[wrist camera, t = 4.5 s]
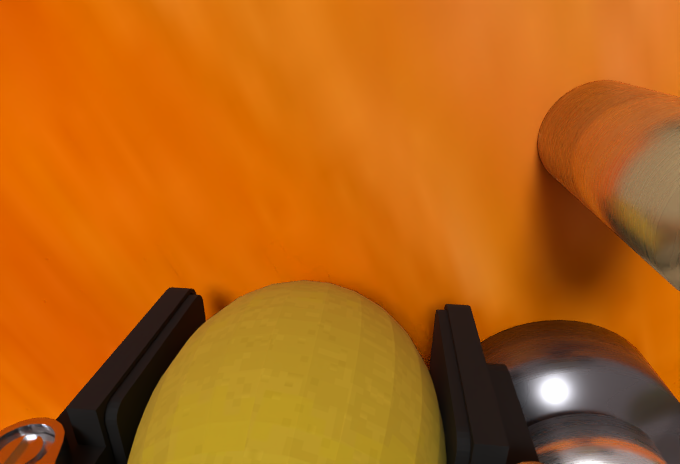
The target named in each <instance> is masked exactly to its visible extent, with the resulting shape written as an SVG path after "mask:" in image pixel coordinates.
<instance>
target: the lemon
mask: <svg viewBox="0 0 680 464" xmlns="http://www.w3.org/2000/svg"><path fill="white" fill-rule="evenodd" d="M127 464H447V457H446V445H445V435H444V428H443V422H442V417H441V413H440V409H439V404H438V400H437V396H436V392H435V388H434V384H433V381H432V378H431V376H430V373H429V370H428V368H427V366H426V364H425V363H424V361H423V359H422V357H421V355H420V354H419V352H418V350H417V349H416V347H415V345H414V343H413V342H412V340H411V338H410V337H409V335H408V333H407V332H406V331H405V330H404V329H403V327H402V326H401V325H400V324H399V323H398V322H397V321H396V320H395V319H394V318H393V317H392V316H391V315H390V314H389V313H388V312H387V311H386V310H384V309H383V308H382V307H381V306H379V305H378V304H376V303H374V302H373V301H371V300H369V299H368V298H366V297H364V296H362V295H361V294H359V293H357V292H356V291H353V290H350V289H347V288H344V287H341V286H338V285H335V284H332V283H325V282H316V281H307V280H302V281H294V282H286V283H277V284H271V285H269V286H266V287H263V288H261V289H258V290H255V291H253V292H250V293H248V294H245V295H243V296H241V297H239V298H237V299H236V300H234V301H233V302H232V303H230V304H229V305H228V306H226V307H225V308H223V309H222V310H221V311H219V312H218V313H216V314H215V315H214V316H212V317H211V318H210V319H208V320H207V321H206V322H205V323H204V324H203V325H201V326H200V327H199V328H198V329H197V330H196V331H195V333H194V334H193V335H192V336H191V337H190V338H189V339H188V341H187V342H186V343H185V345H184V346H183V348H182V349H181V350H180V352H179V353H178V354H177V356H176V357H175V359H174V360H173V361H172V363H171V364H170V366H169V367H168V368H167V370H166V371H165V373H164V374H163V376H162V377H161V379H160V381H159V382H158V384H157V386H156V388H155V389H154V391H153V393H152V395H151V397H150V399H149V402H148V404H147V406H146V408H145V410H144V413H143V416H142V418H141V421H140V424H139V426H138V429H137V432H136V435H135V439H134V442H133V445H132V448H131V452H130V455H129V459H128V463H127Z"/></svg>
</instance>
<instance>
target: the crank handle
mask: <svg viewBox="0 0 680 464" xmlns="http://www.w3.org/2000/svg"><path fill="white" fill-rule="evenodd" d="M528 429H529V432H530V435H531V438H532V441H533V444H534V447H535V450H536V453H537V456H538V459H539V462H540V463H544V464H667V463H666V461H665V460H664V458H663V456H662V455H661V453H660V452H659V450H658V449H657V447H656V446H655V444H654V442H653V441H652V440H651V439H650V438H649V436H648V435H647V434H646V433H644V432H643V431H642V430H641V429H639V428H637V427H636V426H634V425H632V424H630V423H628V422H626V421H623V420H621V419H617V418H614V417H610V416H605V415H598V414H570V415H563V416H558V417H553V418H549V419H546V420H543V421H540V422H538V423H535V424H533V425H531V426H529V427H528Z"/></svg>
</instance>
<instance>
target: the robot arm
mask: <svg viewBox="0 0 680 464" xmlns="http://www.w3.org/2000/svg"><path fill="white" fill-rule="evenodd" d="M205 322H206V320H205V312H204V305H203V299H202V297H201V295H196V292H195V290H194V289H189V288H169V289H167V290H166V292H165V293H164V294H163V295H162V296H161V297H160V299H159V300H158V301H157V302H156V303H155V304H154V306H153V307H152V308H151V309H150V310H149V311H148V313H147V314H146V315H145V316H144V317H143V318H142V320H141V321H140V322H139V323H138V324H137V325H136V327H135V328H134V329H133V330H132V331H131V332H130V334H129V335H128V336H127V337H126V338H125V339H124V341H123V342H122V343H121V344H120V345H119V347H118V348H117V349H116V350H115V351H114V352H113V354H112V355H111V356H110V357H109V358H108V359H107V361H106V362H105V363H104V364H103V365H102V366H101V368H100V369H99V370H98V371H97V372H96V373H95V375H94V376H93V377H92V378H91V379H90V380H89V382H88V383H87V384H86V385H85V386H84V387H83V389H82V390H81V391H80V392H79V393H78V394H77V396H76V397H75V398H74V399H73V400H72V401H71V403H70V404H69V405H68V406H67V407H66V409H65V410H64V411H63V412H62V413H61V414H60V416H59V417H58V418H57V419H56V420H55V419H50V418H46V417H45V418H32V419H28V420H24V421H20V422H18V423H16V424H13V425H11V426H9V427H6V428H5V429H3V430H1V431H0V464H127V463H128V459H129V455H130V452H131V448H132V445H133V442H134V439H135V435H136V432H137V429H138V426H139V424H140V421H141V418H142V416H143V413H144V410H145V408H146V406H147V404H148V402H149V399H150V397H151V395H152V393H153V391H154V389H155V388H156V386H157V384H158V382H159V381H160V379H161V377H162V376H163V374H164V373H165V371H166V370H167V368H168V367H169V366H170V364H171V363H172V361H173V360H174V359H175V357H176V356H177V354H178V353H179V352H180V350H181V349H182V348H183V346H184V345H185V343H186V342H187V341H188V339H189V338H190V337H191V336H192V335H193V334H194V333H195V331H196V330H197V329H198V328H199V327H200V326H201V325H203V324H204V323H205ZM429 373H430V376H431V378H432V381H433V384H434V388H435V392H436V396H437V400H438V404H439V409H440V413H441V417H442V422H443V428H444V435H445V445H446V457H447V464H544V463H540V462H539V459H538V456H537V453H536V450H535V447H534V444H533V441H532V438H531V435H530V432H529V429H528V426H527V423H526V420H525V417H524V414H523V411H522V408H521V405H520V402H519V399H518V396H517V394H516V391H515V388H514V385H513V382H512V379H511V376H510V373H509V370H508V368H507V366H506V365H505V364H494V363H486V361H485V357H484V354H483V350H482V346H481V343H480V339H479V336H478V332H477V328H476V325H475V321H474V318H473V314H472V311H471V307H470V306H469V305H454V304H446V305H445V308H444V310H436V314H435V323H434V332H433V342H432V351H431V360H430V370H429Z"/></svg>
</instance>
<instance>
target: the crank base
mask: <svg viewBox="0 0 680 464" xmlns="http://www.w3.org/2000/svg"><path fill="white" fill-rule="evenodd" d="M538 152H539V156H540V159H541V162H542V164H543V166H544V167H545V169H546V170H547V171H548V172H549V173H550V174H551V175H552V176H553V177H554V178H555V179H556V180H557V181H558V182H559V183H561V184H562V185H563V186H564V187H565V188H566V189H567V190H568V191H569V192H570V193H572V194H573V195H574V196H575V197H576V198H577V199H578V200H579V201H580V202H581V203H583V204H584V205H585V206H586V207H587V208H588V209H589V210H590V211H591V212H592V213H593V214H595V215H596V216H597V217H598V218H599V219H600V220H601V221H602V222H603V223H604V224H606V225H607V226H608V227H609V228H610V229H611V230H612V231H613V232H614V233H615V234H617V235H618V236H619V237H620V238H621V239H622V240H623V241H624V242H625V243H626V244H628V245H629V246H630V247H631V248H632V249H633V250H634V251H635V252H636V253H637V254H639V255H640V256H641V257H642V258H643V259H644V260H645V261H646V262H647V263H648V264H650V265H651V266H652V267H653V268H654V269H655V270H656V271H657V272H658V273H659V274H661V275H662V276H663V277H664V278H665V279H666V280H667V281H668V282H669V283H670V284H672V285H673V286H674V287H675V288H676V289H677V290H679V291H680V97H677V96H673V95H669V94H665V93H661V92H657V91H653V90H650V89H646V88H642V87H638V86H634V85H630V84H626V83H622V82H617V81H612V80H601V81H594V82H589V83H586V84H583V85H581V86H578V87H576V88H574V89H572V90H571V91H569V92H568V93H566V94H565V95H564V96H562V97H561V98H560V99H559V100H558V101H557V102H556V103H555V104H554V105H553V106H552V108H551V109H550V110H549V112H548V113H547V115H546V116H545V118H544V120H543V122H542V125H541V128H540V131H539V136H538ZM481 346H482V350H483V354H484V357H485V361H486V363H494V364H505V365H506V366H507V368H508V370H509V373H510V376H511V379H512V382H513V385H514V388H515V391H516V394H517V396H518V399H519V402H520V405H521V408H522V411H523V414H524V417H525V420H526V423H527V426H528V427H529V426H531V425H533V424H535V423H538V422H540V421H543V420H546V419H549V418H553V417H558V416H563V415H570V414H598V415H605V416H610V417H614V418H617V419H621V420H623V421H626V422H628V423H630V424H632V425H634V426H636V427H637V428H639V429H641V430H642V431H643V432H644V433H646V434H647V435H648V436H649V438H650V439H651V440H652V441H653V442H654V444H655V446H656V447H657V449H658V450H659V452H660V453H661V455H662V456H663V458H664V460H665V461H666V463H667V464H680V403H679V402H678V400H677V399H676V398H675V396H674V395H673V394H672V393H671V391H670V390H669V389H668V387H667V386H666V385H665V384H664V382H663V381H662V380H661V378H660V377H659V376H658V375H657V373H656V372H655V371H654V369H653V368H652V367H651V366H650V364H649V363H648V362H647V361H646V359H645V358H644V357H643V355H642V354H641V353H640V352H639V351H638V350H637V348H636V347H634V346H633V345H632V344H631V343H630V342H628V341H627V340H626V339H624V338H623V337H621V336H619V335H618V334H616V333H614V332H612V331H609V330H607V329H605V328H602V327H599V326H596V325H592V324H588V323H583V322H577V321H565V320H553V321H540V322H533V323H528V324H524V325H520V326H516V327H513V328H510V329H507V330H504V331H502V332H500V333H498V334H495V335H493V336H491V337H489V338H488V339H486V340H484V341H483V342H481Z"/></svg>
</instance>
